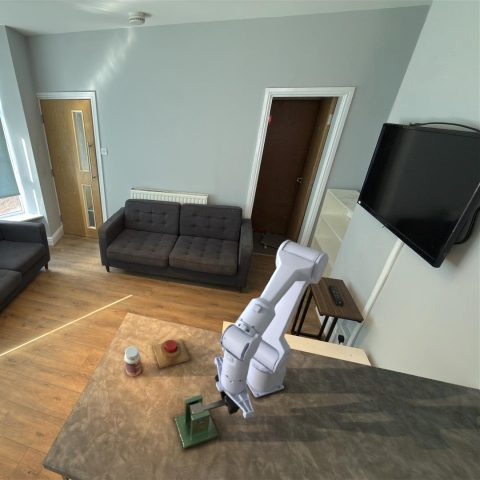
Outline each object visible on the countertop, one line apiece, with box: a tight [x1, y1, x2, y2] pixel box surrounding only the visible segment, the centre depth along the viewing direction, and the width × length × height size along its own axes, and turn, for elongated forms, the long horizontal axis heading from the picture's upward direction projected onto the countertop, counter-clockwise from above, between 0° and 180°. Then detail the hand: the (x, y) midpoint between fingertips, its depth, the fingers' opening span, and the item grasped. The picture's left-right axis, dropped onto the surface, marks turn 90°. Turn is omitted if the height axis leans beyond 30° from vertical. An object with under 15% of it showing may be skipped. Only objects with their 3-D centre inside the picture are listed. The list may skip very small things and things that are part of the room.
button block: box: [152, 338, 191, 369], centre depth 86 cm, size 10×8×3 cm
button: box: [165, 339, 176, 353], centre depth 85 cm, size 4×4×2 cm
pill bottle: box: [124, 345, 142, 377], centre depth 80 cm, size 5×5×8 cm
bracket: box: [174, 394, 219, 450], centre depth 65 cm, size 9×7×9 cm
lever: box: [190, 394, 228, 416], centre depth 64 cm, size 12×3×3 cm, turn 106°
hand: (228, 404), depth 66 cm, fingers closed on lever, 3 cm apart
